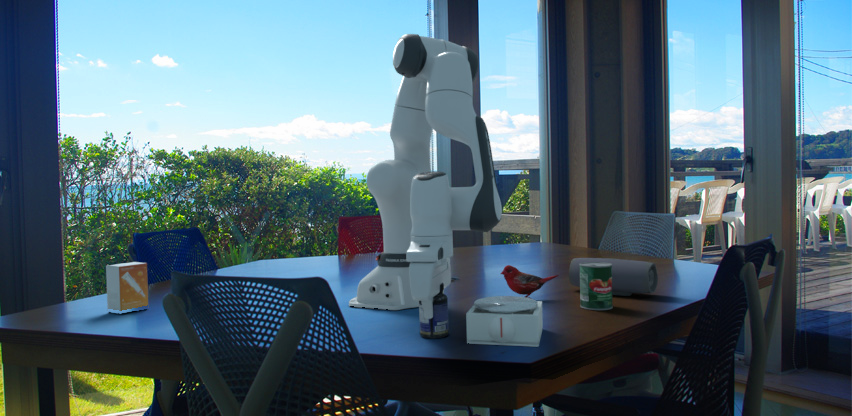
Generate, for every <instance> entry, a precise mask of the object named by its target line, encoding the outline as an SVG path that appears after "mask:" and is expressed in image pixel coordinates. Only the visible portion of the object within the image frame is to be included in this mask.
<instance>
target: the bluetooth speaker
mask: <svg viewBox="0 0 852 416" xmlns="http://www.w3.org/2000/svg"><path fill="white" fill-rule="evenodd" d="M585 262H604V263H610V264H612V296H623V297H624V296H625V297H630V296H632V294H654V293H655V292H656V290H657V288H658V284H659V283H658V282H659V275H658V269H657V264H656V263H655V262H649V261H644V260H633V259H632V260H631V259H622V258H605V257H575V258H572V259H571V261H570V263H569V269H568V280H569V283H570V284H571V286H573V287H577V288H580V265H579V264H580V263H585Z"/></svg>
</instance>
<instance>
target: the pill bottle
mask: <svg viewBox="0 0 852 416" xmlns="http://www.w3.org/2000/svg"><path fill="white" fill-rule="evenodd" d="M443 290H444V291H445V288H444V283H442V284H440V292H439V293H438V294H437V295H436V296H434V297H433V302H432V303H433V309H434V316H433V317H432V318H431V319H426V318H425V317H424V309H423V306H422V303H421V301H419V307H418V312H419V331H420V332H419V335H420V336H421V337H422V338H425V339H439V338H440V339H441V338H446V337H447V336H448V335H449V330H450V329H449V305H448V302H449V301H448V297H447V294H445V293H444V294H443Z"/></svg>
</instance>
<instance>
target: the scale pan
mask: <svg viewBox="0 0 852 416" xmlns="http://www.w3.org/2000/svg"><path fill="white" fill-rule="evenodd" d="M531 298H532V297H530V298H526V297H525V296H514V295H513V296H512V295H500V296H499V295H497V296H496V295H495V296H487V297H482V298H478V299H476V300H474V303H473V305H474V307H475V308H476V309H479V310H482V311H487V312H496V313H500V314H513V313H517V312H526V311H530V310H534V309H536V308H537V307H538V303H537V301H538V300H536V299H533V298H532V299H531Z"/></svg>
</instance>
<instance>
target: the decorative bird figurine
mask: <svg viewBox="0 0 852 416" xmlns="http://www.w3.org/2000/svg"><path fill="white" fill-rule="evenodd" d="M500 275H503V278H504V280H505V282H506V285H507V286H508V288H509V289H510V290H511V291H512V292H514V293H515V294H517V295H523V296H524V295H525V296H524V297H526V298H531V299H533V298H532V297H530V296H531V295H532V294H533V293H534V292H537V291H539V290H540V289H541V288H542V287H543V286H544V285H545V284H546V283H547V282H549V281H551V280H553V279H555V278H557V277H559V275H558V274H556V275H551V276H548V277H541V276H537V275H535V274H530V273H525V272H522V271H520V270H519V268H516V267H515V266H513V265H510V264H508V265H505V267H503V270H502V271H501V272H500Z"/></svg>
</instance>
